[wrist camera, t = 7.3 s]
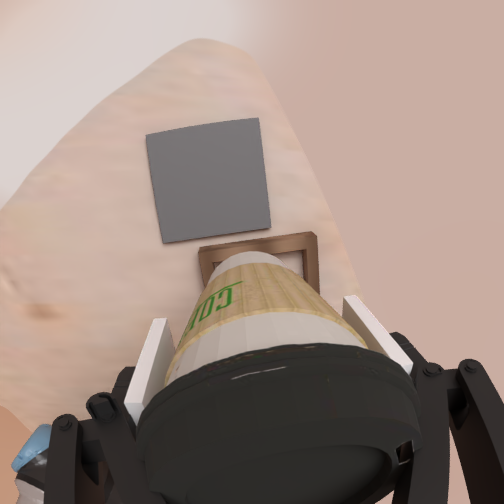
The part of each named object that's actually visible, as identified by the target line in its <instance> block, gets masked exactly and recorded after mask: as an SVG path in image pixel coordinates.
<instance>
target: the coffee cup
mask: <svg viewBox="0 0 504 504" xmlns="http://www.w3.org/2000/svg"><path fill="white" fill-rule="evenodd" d="M420 416H421V405H420V401H419V398H418V394H417V391H416V389H415V387H414V384H413V381H412V379H411V377H410V376H409V375H408V373H407V372H406V371H405V370H404V368H403V367H402V366H401V365H400V364H399V363H397V362H395V361H394V360H392V359H391V358H389V357H387V356H386V355H384V354H382V353H380V352H376V351H373V350H369V349H368V347H367V345H366V343H365V341H364V340H363V339H362V337H361V336H360V335H359V334H358V333H357V332H356V331H355V330H354V329H353V328H352V327H351V326H350V325H349V324H348V323H347V322H346V321H345V320H344V319H343V318H342V317H341V316H340V315H339V314H338V313H337V312H336V311H335V310H334V309H333V308H332V307H331V306H330V305H329V304H328V303H327V302H326V301H325V300H324V299H323V298H322V297H321V296H320V295H319V294H318V293H317V292H316V291H315V290H314V289H313V288H312V287H311V286H310V285H309V284H308V283H306V282H305V281H304V280H303V279H302V278H301V277H300V276H299V275H297V274H296V273H294V272H293V271H291V270H290V269H289V268H288V267H287V266H286V265H285V264H284V263H283V262H282V261H281V260H279V259H278V258H276V257H275V256H272V255H270V254H268V253H263V252H258V251H248V252H243V253H238V254H236V255H233V256H231V257H229V258H228V259H226V260H224V261H223V262H222V263H221V264H220V265H219V266H218V267H217V268H216V269H215V270H214V272H213V273H212V275H211V277H210V280H209V282H208V284H207V287H206V288H205V289H204V291H203V292H202V294H201V295H200V297H199V300H198V302H197V304H196V306H195V309H194V311H193V313H192V315H191V318H190V320H189V322H188V325H187V327H186V329H185V331H184V334H183V336H182V338H181V341H180V343H179V345H178V348H177V350H176V352H175V355H174V357H173V359H172V362H171V364H170V367H169V369H168V372H167V374H166V377H165V386H164V389H162V390H161V391H160V392H158V393H157V394H156V395H154V397H153V398H152V399H151V401H150V402H149V403H148V404H147V406H146V407H145V408H144V410H143V411H142V412H141V415H140V418H139V421H138V424H137V427H136V454H137V458H138V459H140V460H142V461H144V462H145V467H146V473H147V480H148V485H149V491H153V492H160V493H161V494H162V496H163V497H164V498H165V500H166V501H167V502H168V503H169V504H375V503H376V502H378V501H380V500H381V499H382V498H384V497H385V496H387V495H388V494H389V493H390V492H392V491H393V490H394V489H395V484H396V483H397V481H398V479H399V478H400V476H401V474H402V473H403V471H404V469H405V468H406V466H407V464H408V462H409V460H410V459H409V460H407V461H406V462H403V463H400V464H399V460H400V452H401V445H402V444H403V443H404V442H407V441H410V440H412V447H413V453H414V451H415V450H417V449H420V448H422V447H423V441H422V436H421V432H420V428H419V424H418V420H417V419H418V418H419V417H420Z"/></svg>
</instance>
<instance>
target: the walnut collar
mask: <svg viewBox="0 0 504 504" xmlns="http://www.w3.org/2000/svg"><path fill="white" fill-rule="evenodd" d="M295 250H302V255H303V270H304V281H305V282H306V283H308V284H309V285H310V286H311V287H312V288H313V289H314V290H315V291H316V292H317V293H318V294H319V295H320V288H319V264H318V245H317V236H316V235H315V234H314V233H313V232H312V231H311V232H303V233H296V234H289V235H282V236H274V237H267V238H260V239H253V240H246V241H239V242H232V243H225V244H218V245H211V246H204V247H200V248H199V252H198V254H199V259H200V265H201V270H202V275H203V281H204V286H205V288H206V287H207V284H208V282H209V280H210V277H211V275H212V273H213V272H214V270H215V266H214V262H219V261H224V260H226V259H228V258H229V257H231V256H233V255H236V254H238V253H243V252H248V251H258V252H263V253H268V254H275V253H282V252H289V251H295Z"/></svg>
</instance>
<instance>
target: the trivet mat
mask: <svg viewBox="0 0 504 504" xmlns="http://www.w3.org/2000/svg"><path fill="white" fill-rule="evenodd" d="M146 141H147V149H148V156H149V163H150V170H151V177H152V183H153V190H154V196H155V202H156V207H157V213H158V218H159V224H160V229H161V234H162V239H163V243H168V242H175V241H181V240H188V239H195V238H201V237H208V236H215V235H222V234H229V233H236V232H243V231H250V230H257V229H264V228H271V219H270V210H269V201H268V192H267V183H266V174H265V166H264V158H263V149H262V141H261V133H260V125H259V118H249V119H240V120H232V121H224V122H217V123H210V124H203V125H197V126H191V127H185V128H179V129H174V130H168V131H163V132H158V133H153V134H149V135H146Z"/></svg>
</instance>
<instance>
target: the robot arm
mask: <svg viewBox="0 0 504 504" xmlns="http://www.w3.org/2000/svg"><path fill="white" fill-rule="evenodd" d="M342 318H343V319H344V320H345V321H346V322H347V323H348V324H349V325H350V326H351V327H352V328H353V329H354V330H355V331H356V332H357V333H358V334H359V335H360V336H361V337H362V339H363V340H364V341H365V343H366V345H367V347H368V349H369V350H373V351H376V352H380V353H382V354H384V355H386V356H387V357H389V358H391V359H392V360H394V361H395V362H397V363H399V364H400V365H401V366H402V367H403V368H404V370H405V371H406V372H407V373H408V375H409V376H410V377H411V379H412V381H413V384H414V387H415V389H416V391H417V394H418V398H419V401H420V405H421V416H420V417H419V418H418V419H417V420H418V424H419V428H420V432H421V436H422V441H423V447H422V448H420V449H417V450H415V451H414V453H413V447H412V440H410V441H407V442H404V443H403V444H402V445H401V452H400V460H399V464H400V463H403V462H406V461H407V460H409V459H410V460H409V462H408V464H407V466H406V468H405V469H404V471H403V473H402V474H401V476H400V478H399V479H398V481H397V483H396V484H395V489H394V494H393V500H392V504H447V501H448V489H449V488H448V487H449V467H450V437H449V436H450V435H449V427H450V430H451V433H452V436H453V439H454V442H455V446H456V449H457V452H458V456H459V459H460V462H461V466H462V470H463V474H464V478H465V482H466V486H467V490H468V494H469V499H470V503H471V504H504V404H503V402H502V400H501V398H500V396H499V394H498V392H497V391H496V389H495V387H494V385H493V383H492V382H491V380H490V378H489V376H488V374H487V373H486V371H485V369H484V368H483V366H482V365H481V363H480V362H478V361H476V360H473V359H465V360H463V361H461V362H460V364H459V366H458V369H448V370H444V369H443V368H442V367H441V366H440V365H438V364H436V363H430V362H429V363H428V362H427V361H426V360H425V359H424V358H423V357H422V355H421V354H420V353H419V352H418V351H417V350H416V348H414V346H413V345H412V344H411V343H410V342H409V341H408V339H407V338H406V337H405V336H403V335H401V334H400V333H398V332H393V333H388V332H387V331H386V330H385V328H384V327H383V326H382V325H381V324H380V322H379V321H378V320H377V319H376V318H375V317H374V315H373V314H372V313H371V312H370V311H369V310H368V308H367V307H366V306H365V305H364V304H363V303H362V302H361V300H360V299H359V298H358V297H357V296H356V295H351V296H345V297H343V314H342ZM175 352H176V351H175V347H174V344H173V340H172V336H171V332H170V328H169V324H168V320H167V318H157V319H154V320H153V323H152V325H151V328H150V330H149V333H148V336H147V338H146V341H145V344H144V346H143V349H142V352H141V354H140V357H139V360H138V363H137V365H136V367H125V368H124V369H123V370H122V371H121V372H120V373H119V375H118V378H117V380H116V381H117V382H116V383H115V385H114V388H113V390H112V393H111V394H110V393H106V392H101V393H97V394H95V395H93V396H92V397H90V398H89V399H88V401H87V403H86V408H87V410H88V412H89V413H90V415H91V417H92V418H93V419H88V420H82V421H78V420H77V418H76V417H75V416H73V415H71V414H64V415H61V416H59V417H57V418H56V419H55V420H54V422H53V424H52V426H51V425H49V424H42V425H40V426H39V427H38V428H37V429H36V430H35V431H34V433H33V434H32V435H31V437H30V438H29V439H28V441H27V442H26V443H25V445H24V446H23V448H22V449H21V451H20V453H19V454H18V455H17V457H16V458H15V459H14V461H13V463H12V465H11V466H12V468H13V469H14V471H15V472H18V474H17V476H16V479H15V484H16V486H17V488H18V491H19V494H20V495H19V497H18V500H17V503H16V504H169V503H168V502H167V501H166V500H165V498H164V497H163V496H162V494H161V493H160V492H153V491H149V485H148V480H147V473H146V467H145V462H144V461H142V460H140V459H138V458H137V454H136V427H137V424H138V421H139V418H140V415H141V412H142V411H143V410H144V408H145V407H146V406H147V404H148V403H149V402H150V401H151V399H152V398H153V397H154V395H156V394H157V393H158V392H160V391H161V390H162V389H164V386H165V377H166V374H167V372H168V369H169V367H170V364H171V362H172V359H173V357H174V355H175Z"/></svg>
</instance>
